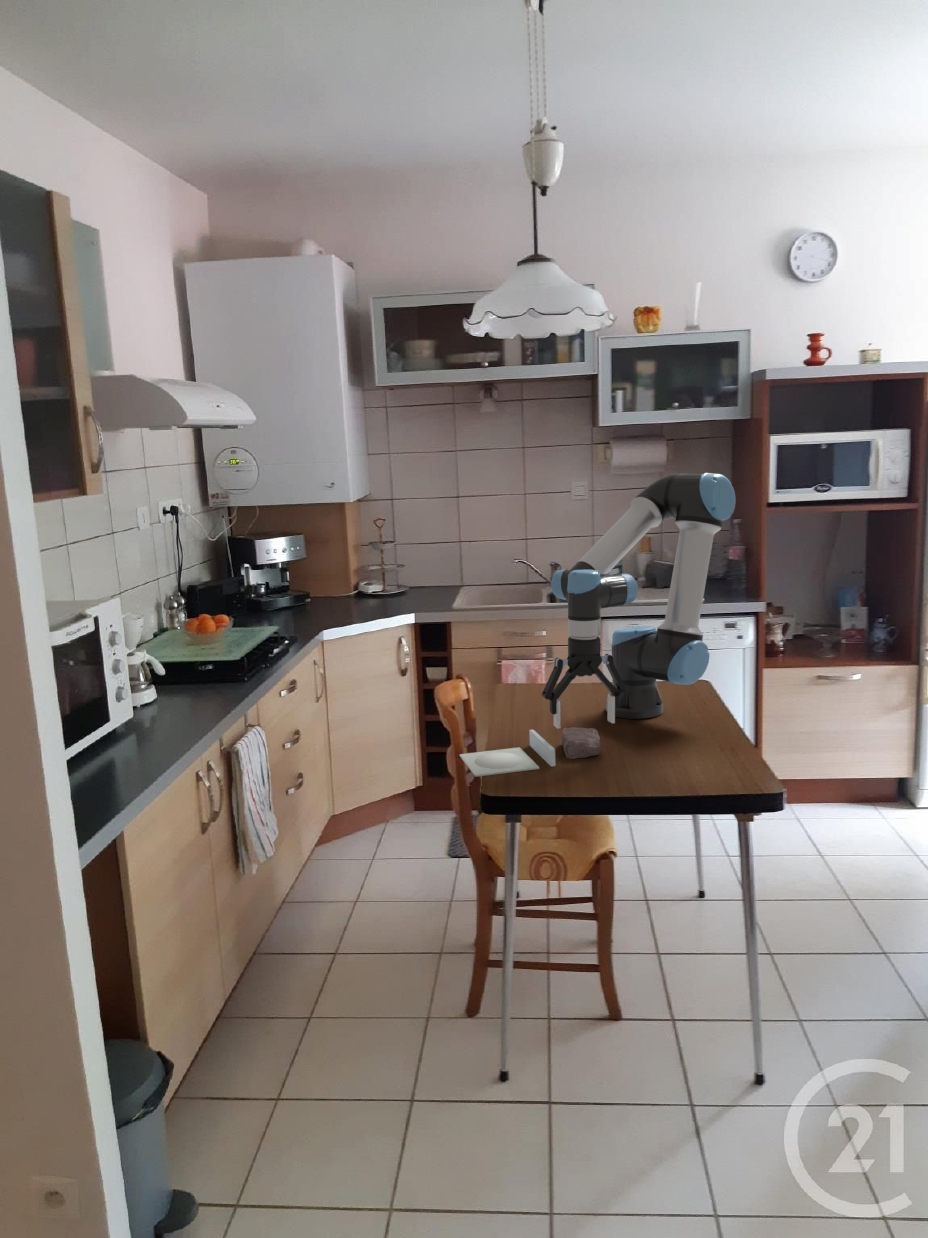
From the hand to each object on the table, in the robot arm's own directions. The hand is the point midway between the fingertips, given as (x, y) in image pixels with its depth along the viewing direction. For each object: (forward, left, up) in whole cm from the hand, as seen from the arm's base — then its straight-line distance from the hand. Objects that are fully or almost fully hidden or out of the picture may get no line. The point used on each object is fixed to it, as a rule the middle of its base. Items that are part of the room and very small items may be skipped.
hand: (584, 724), depth 219 cm
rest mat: (+22, +1, -7) cm, 23 cm away
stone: (+1, -1, -7) cm, 7 cm away
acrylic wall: (+11, 0, -7) cm, 12 cm away
